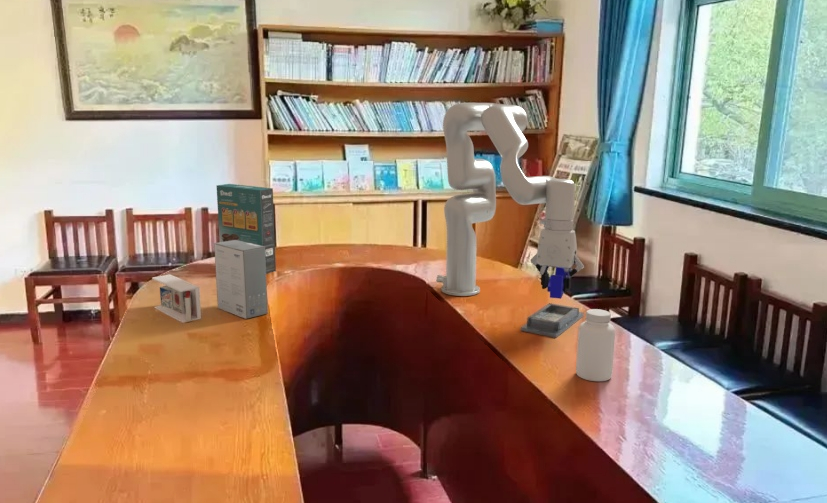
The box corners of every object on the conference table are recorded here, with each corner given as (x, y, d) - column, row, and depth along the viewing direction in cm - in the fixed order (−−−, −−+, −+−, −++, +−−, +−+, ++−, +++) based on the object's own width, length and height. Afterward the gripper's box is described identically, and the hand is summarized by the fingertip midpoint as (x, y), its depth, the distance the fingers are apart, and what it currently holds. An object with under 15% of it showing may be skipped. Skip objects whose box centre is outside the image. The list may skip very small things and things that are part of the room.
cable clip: (550, 286, 193) (551, 265, 192) (566, 287, 191) (567, 267, 190) (544, 297, 182) (545, 275, 180) (561, 298, 180) (562, 277, 179)
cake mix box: (275, 271, 243) (272, 188, 236) (263, 274, 238) (260, 190, 231) (233, 262, 254) (229, 183, 248) (220, 266, 249) (216, 185, 243)
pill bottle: (612, 371, 155) (617, 309, 152) (610, 384, 148) (615, 319, 144) (577, 366, 157) (581, 305, 154) (573, 379, 150) (578, 315, 147)
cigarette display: (154, 308, 199) (151, 277, 197) (172, 304, 203) (170, 274, 201) (184, 324, 185) (182, 291, 183) (203, 319, 189) (201, 287, 187)
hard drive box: (269, 314, 194) (266, 246, 190) (246, 320, 189) (242, 250, 184) (238, 303, 204) (235, 238, 200) (216, 308, 199) (212, 242, 195)
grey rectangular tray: (520, 330, 182) (521, 320, 181) (550, 310, 200) (551, 300, 199) (556, 337, 177) (556, 326, 176) (583, 316, 195) (584, 306, 194)
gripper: (523, 224, 183) (521, 288, 187) (585, 230, 175) (581, 297, 178) (534, 220, 190) (531, 282, 194) (594, 226, 181) (590, 291, 185)
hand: (555, 288), depth 186 cm, fingers closed on cable clip, 5 cm apart
